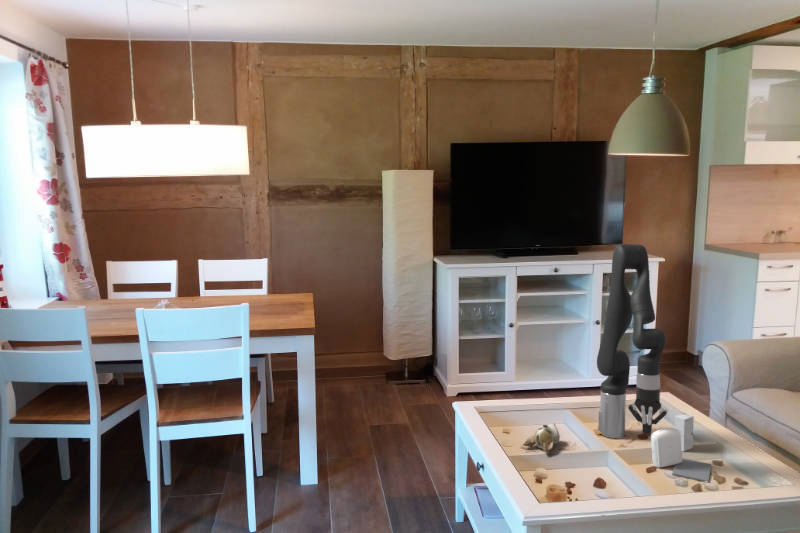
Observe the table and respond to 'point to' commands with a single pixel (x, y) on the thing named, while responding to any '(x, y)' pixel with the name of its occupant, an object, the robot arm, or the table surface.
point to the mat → (692, 470)
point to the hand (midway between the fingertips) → (647, 434)
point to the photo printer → (666, 447)
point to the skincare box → (685, 430)
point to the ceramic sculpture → (544, 437)
